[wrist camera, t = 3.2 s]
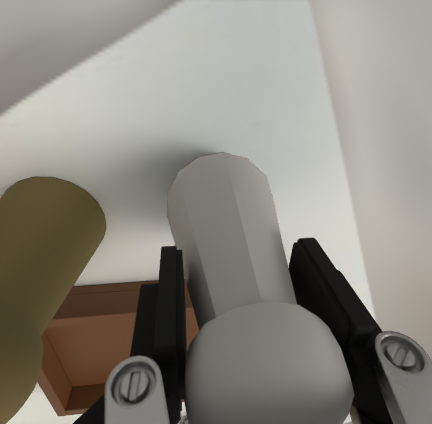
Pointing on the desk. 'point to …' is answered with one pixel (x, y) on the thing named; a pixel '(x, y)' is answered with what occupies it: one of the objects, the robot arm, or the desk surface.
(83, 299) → the tray
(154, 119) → the desk surface
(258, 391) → the salt shaker
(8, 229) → the pepper shaker
